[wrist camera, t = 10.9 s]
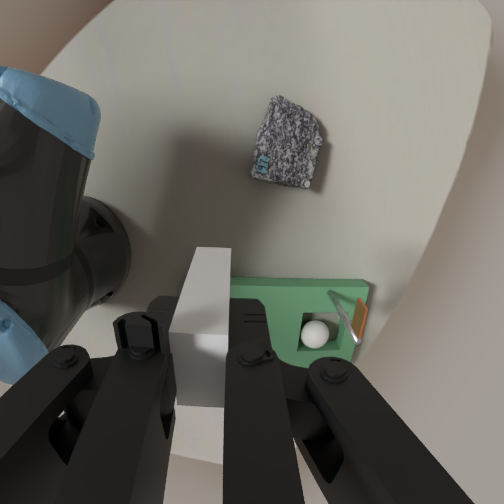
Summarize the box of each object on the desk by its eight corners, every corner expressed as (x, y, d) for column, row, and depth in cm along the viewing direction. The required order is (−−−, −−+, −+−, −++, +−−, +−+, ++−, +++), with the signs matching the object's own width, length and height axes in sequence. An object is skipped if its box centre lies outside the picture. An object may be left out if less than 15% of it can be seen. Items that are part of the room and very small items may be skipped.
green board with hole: (190, 359, 45) (189, 369, 43) (186, 275, 40) (183, 283, 38) (344, 358, 46) (348, 368, 44) (362, 279, 42) (369, 287, 39)
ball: (304, 337, 45) (296, 350, 42) (306, 313, 44) (297, 325, 41) (330, 342, 43) (323, 355, 40) (333, 317, 42) (326, 330, 39)
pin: (326, 295, 39) (354, 345, 29) (331, 265, 38) (363, 309, 28) (332, 295, 40) (361, 344, 29) (337, 265, 38) (370, 308, 28)
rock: (328, 117, 35) (339, 114, 31) (301, 193, 38) (309, 199, 34) (269, 95, 33) (273, 89, 29) (242, 174, 37) (243, 177, 33)
